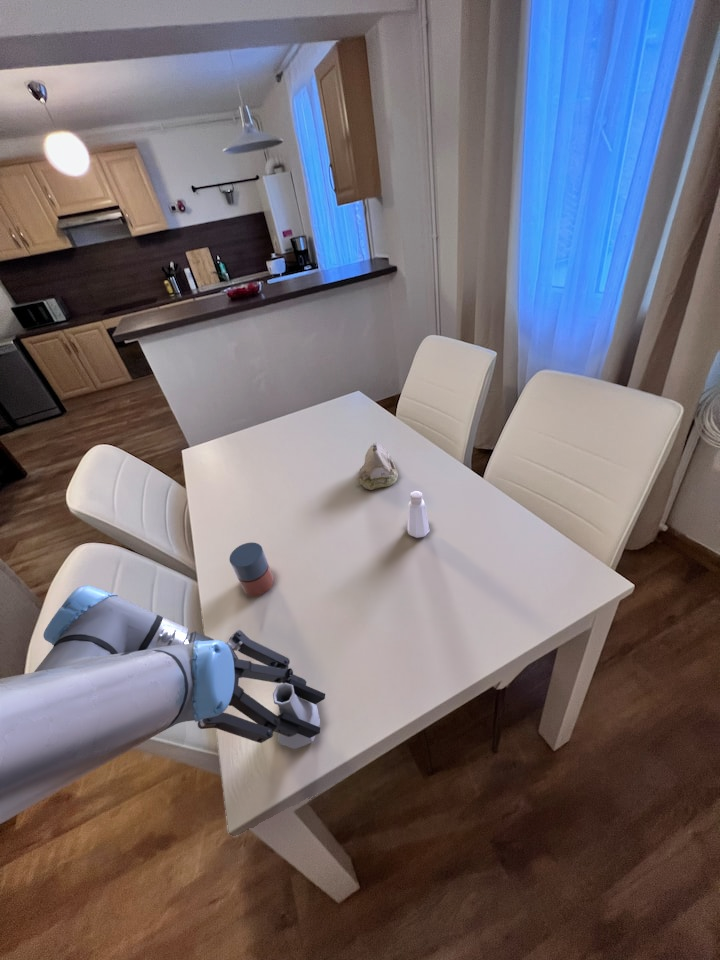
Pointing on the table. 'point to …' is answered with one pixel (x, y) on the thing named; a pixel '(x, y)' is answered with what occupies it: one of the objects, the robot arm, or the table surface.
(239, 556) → the cup stack
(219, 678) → the robot arm
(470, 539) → the table surface
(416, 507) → the pepper shaker
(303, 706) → the flask
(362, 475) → the ceramic model
